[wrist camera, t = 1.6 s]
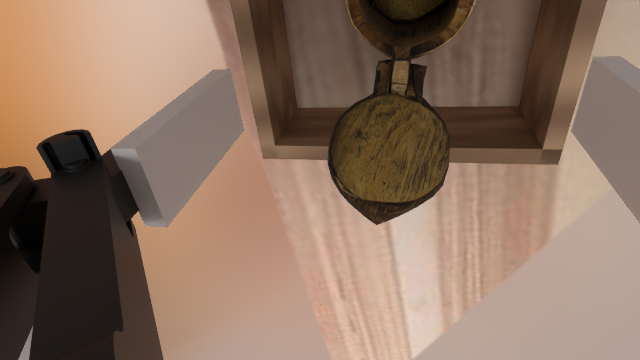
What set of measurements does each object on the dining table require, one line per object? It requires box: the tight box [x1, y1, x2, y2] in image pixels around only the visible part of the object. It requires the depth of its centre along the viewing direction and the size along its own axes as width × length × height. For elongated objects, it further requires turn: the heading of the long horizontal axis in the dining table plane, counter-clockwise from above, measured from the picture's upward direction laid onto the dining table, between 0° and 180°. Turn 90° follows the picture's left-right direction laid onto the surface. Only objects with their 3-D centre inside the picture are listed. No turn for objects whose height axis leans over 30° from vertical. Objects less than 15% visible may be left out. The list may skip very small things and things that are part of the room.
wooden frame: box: [230, 0, 607, 165], centre depth 26 cm, size 19×21×7 cm
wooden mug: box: [328, 0, 476, 225], centre depth 21 cm, size 9×14×18 cm, turn 178°
